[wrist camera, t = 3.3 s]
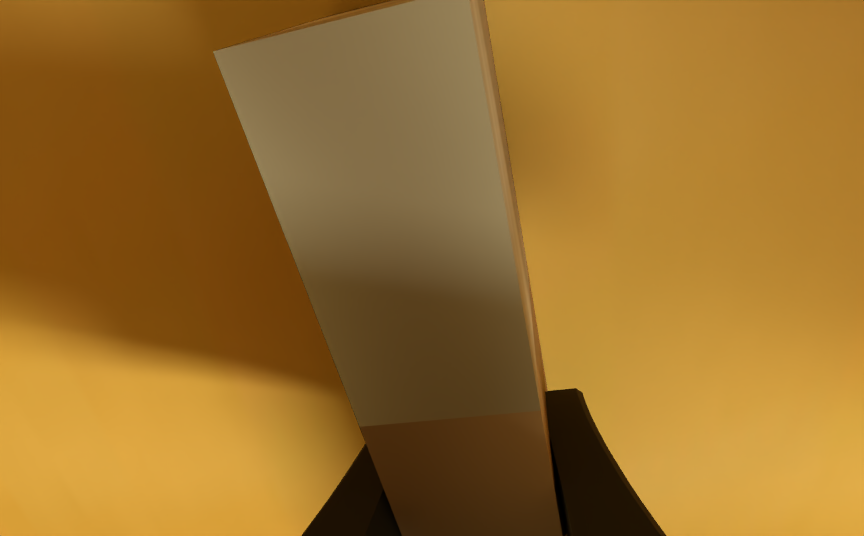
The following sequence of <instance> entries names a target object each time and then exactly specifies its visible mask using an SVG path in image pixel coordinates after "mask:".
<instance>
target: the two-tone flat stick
mask: <svg viewBox="0 0 864 536" xmlns="http://www.w3.org/2000/svg"><path fill="white" fill-rule="evenodd" d="M213 53H214V56H215V58H216V61H217V63H218V66H219V68H220V71H221V74H222V76H223V79H224V81H225V84H226V86H227V89H228V91H229V94H230V97H231V99H232V102H233V104H234V107H235V109H236V112H237V115H238V117H239V120H240V122H241V125H242V127H243V130H244V132H245V135H246V138H247V140H248V143H249V145H250V148H251V150H252V153H253V155H254V158H255V161H256V163H257V166H258V168H259V171H260V173H261V176H262V179H263V181H264V184H265V186H266V189H267V191H268V194H269V196H270V199H271V202H272V204H273V207H274V209H275V212H276V214H277V217H278V220H279V222H280V225H281V227H282V230H283V232H284V235H285V237H286V240H287V243H288V245H289V248H290V250H291V253H292V255H293V258H294V260H295V263H296V266H297V268H298V271H299V273H300V276H301V278H302V281H303V284H304V286H305V289H306V291H307V294H308V296H309V299H310V301H311V304H312V307H313V309H314V312H315V314H316V317H317V319H318V322H319V324H320V327H321V330H322V332H323V335H324V337H325V340H326V342H327V345H328V348H329V350H330V353H331V355H332V358H333V360H334V363H335V365H336V368H337V371H338V373H339V376H340V378H341V381H342V383H343V386H344V388H345V391H346V394H347V396H348V399H349V401H350V404H351V406H352V409H353V412H354V414H355V417H356V419H357V422H358V424H359V427H360V429H361V432H362V435H363V437H364V440H365V442H366V445H367V447H368V450H369V453H370V455H371V458H372V460H373V463H374V465H375V468H376V470H377V473H378V476H379V478H380V481H381V483H382V486H383V488H384V491H385V493H386V496H387V499H388V501H389V504H390V506H391V509H392V511H393V514H394V517H395V519H396V522H397V524H398V527H399V529H400V532H401V534H402V536H566V531H565V525H564V519H563V513H562V507H561V501H560V495H559V489H558V483H557V478H556V472H555V466H554V460H553V454H552V448H551V442H550V436H549V430H548V419H547V408H546V396H545V391H547V385H546V379H545V373H544V366H543V360H542V354H541V348H540V342H539V336H538V330H537V323H536V317H535V311H534V305H533V299H532V293H531V287H530V280H529V274H528V268H527V262H526V256H525V250H524V244H523V237H522V231H521V225H520V219H519V213H518V207H517V201H516V194H515V188H514V182H513V176H512V170H511V164H510V158H509V151H508V145H507V139H506V133H505V127H504V121H503V115H502V108H501V102H500V96H499V90H498V84H497V78H496V72H495V65H494V59H493V53H492V47H491V41H490V35H489V29H488V22H487V16H486V10H485V4H484V0H391V1H387V2H383V3H379V4H375V5H371V6H367V7H363V8H360V9H356V10H352V11H348V12H344V13H340V14H336V15H332V16H328V17H325V18H321V19H318V20H315V21H311V22H308V23H305V24H302V25H298V26H295V27H292V28H288V29H285V30H282V31H279V32H275V33H272V34H269V35H265V36H262V37H259V38H256V39H252V40H249V41H246V42H242V43H239V44H236V45H232V46H229V47H226V48H223V49H219V50H216V51H213Z"/></svg>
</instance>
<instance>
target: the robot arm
mask: <svg viewBox="0 0 864 536" xmlns="http://www.w3.org/2000/svg"><path fill="white" fill-rule="evenodd" d="M545 396H546V408H547V419H548V430H549V436H550V442H551V448H552V454H553V460H554V466H555V472H556V478H557V483H558V489H559V495H560V501H561V507H562V513H563V519H564V525H565V531H566V536H666V535H665V533H664V532H663V531H662V529H661V528H660V526H659V525H658V524H657V522H656V521H655V520H654V518H653V517H652V515H651V514H650V513H649V511H648V510H647V508H646V507H645V505H644V504H643V503H642V501H641V500H640V498H639V497H638V495H637V494H636V492H635V491H634V489H633V488H632V486H631V485H630V483H629V482H628V480H627V478H626V477H625V475H624V474H623V472H622V470H621V469H620V467H619V466H618V464H617V462H616V461H615V459H614V458H613V456H612V454H611V453H610V451H609V449H608V447H607V446H606V444H605V442H604V440H603V438H602V437H601V435H600V433H599V431H598V429H597V427H596V425H595V423H594V421H593V419H592V417H591V415H590V412H589V410H588V408H587V405H586V402H585V400H584V397H583V393H582V392H581V391H579V390H578V389H576V388H575V389H565V390H554V391H545ZM302 536H402V534H401V532H400V529H399V527H398V524H397V522H396V519H395V517H394V514H393V511H392V509H391V506H390V504H389V501H388V499H387V496H386V493H385V491H384V488H383V486H382V483H381V481H380V478H379V476H378V473H377V470H376V468H375V465H374V463H373V460H372V458H371V455H370V453H369V450H368V447H367V445H366V444H365V445H364V447H363V448H362V450H361V451H360V453H359V454H358V456H357V458H356V459H355V461H354V462H353V464H352V465H351V467H350V468H349V470H348V471H347V473H346V474H345V476H344V477H343V479H342V480H341V482H340V483H339V485H338V486H337V488H336V489H335V490H334V492H333V493H332V495H331V496H330V498H329V499H328V501H327V502H326V503H325V505H324V506H323V507H322V509H321V510H320V511H319V513H318V514H317V515H316V517H315V518H314V519H313V521H312V522H311V523H310V525H309V526H308V528H307V529H306V530H305V532H304V533H303V534H302Z"/></svg>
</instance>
